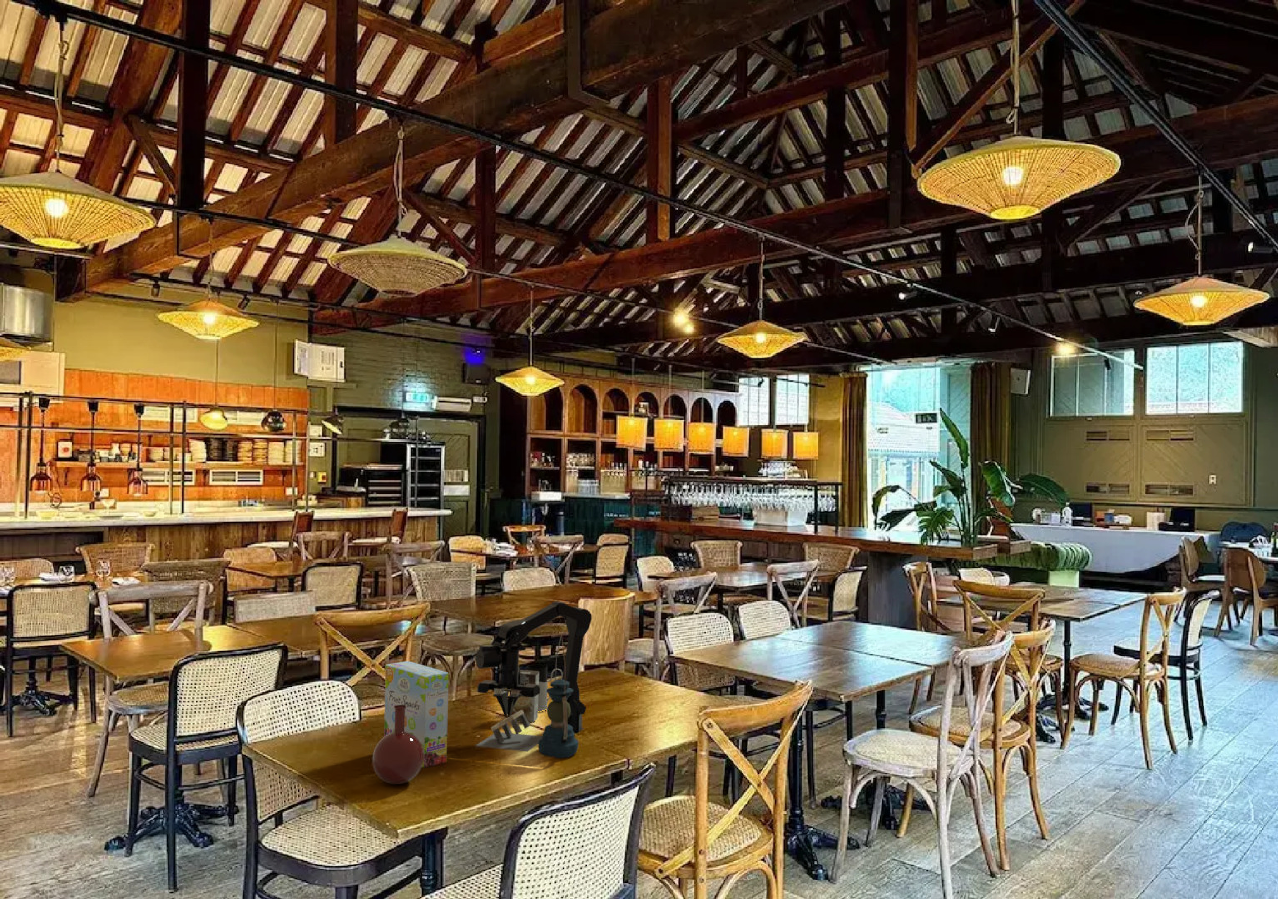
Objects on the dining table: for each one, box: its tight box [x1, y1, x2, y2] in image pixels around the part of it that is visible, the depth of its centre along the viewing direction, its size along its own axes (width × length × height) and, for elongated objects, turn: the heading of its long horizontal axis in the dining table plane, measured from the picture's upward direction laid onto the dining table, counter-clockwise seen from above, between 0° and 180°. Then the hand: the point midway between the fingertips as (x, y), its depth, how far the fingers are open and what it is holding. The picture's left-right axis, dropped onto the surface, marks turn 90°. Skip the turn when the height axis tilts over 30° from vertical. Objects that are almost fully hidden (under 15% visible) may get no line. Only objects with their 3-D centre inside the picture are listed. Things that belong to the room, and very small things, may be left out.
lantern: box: [537, 634, 579, 759], centre depth 260 cm, size 14×12×35 cm
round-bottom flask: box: [372, 705, 424, 785], centre depth 231 cm, size 13×13×20 cm
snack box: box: [383, 660, 450, 769], centre depth 253 cm, size 22×9×26 cm, turn 47°
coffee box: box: [508, 669, 539, 723], centre depth 296 cm, size 9×6×16 cm
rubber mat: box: [475, 731, 543, 752], centre depth 269 cm, size 17×16×1 cm
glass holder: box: [525, 664, 563, 711], centre depth 311 cm, size 9×14×15 cm, turn 115°
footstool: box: [490, 710, 531, 744], centre depth 269 cm, size 6×8×8 cm
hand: (507, 716), depth 269 cm, fingers closed
